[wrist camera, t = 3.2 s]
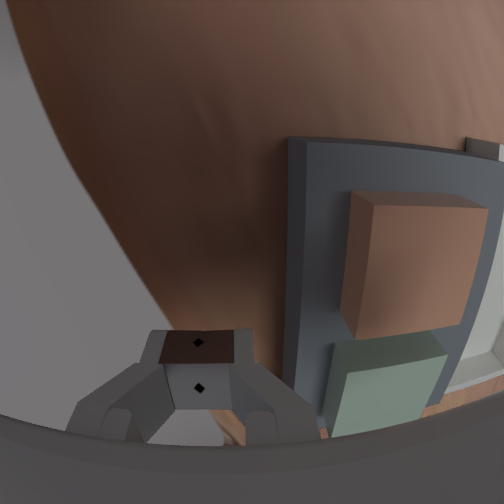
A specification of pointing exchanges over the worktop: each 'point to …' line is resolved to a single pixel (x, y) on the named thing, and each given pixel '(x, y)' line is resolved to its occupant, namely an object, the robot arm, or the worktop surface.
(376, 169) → the dark grey slab
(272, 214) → the worktop surface
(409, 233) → the tile
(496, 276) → the box
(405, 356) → the tile
